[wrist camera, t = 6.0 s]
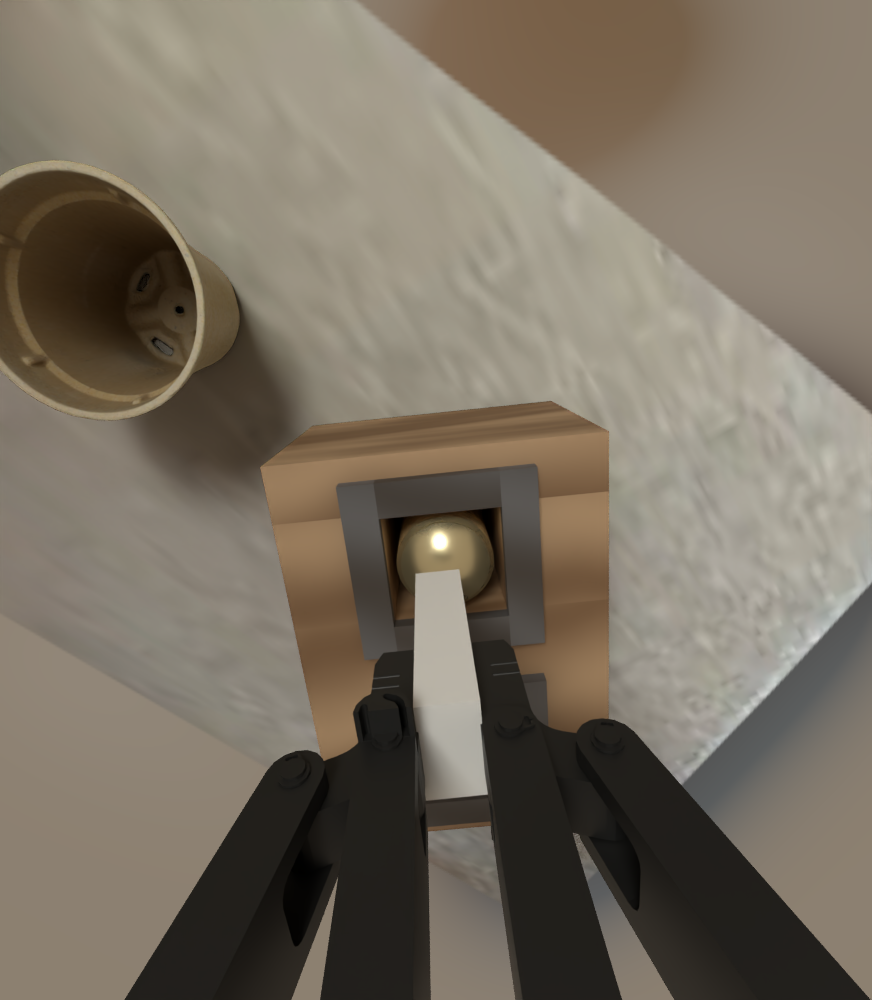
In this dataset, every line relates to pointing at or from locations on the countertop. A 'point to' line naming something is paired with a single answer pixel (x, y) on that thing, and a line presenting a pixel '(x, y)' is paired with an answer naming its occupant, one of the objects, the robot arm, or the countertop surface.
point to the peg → (446, 549)
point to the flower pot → (102, 294)
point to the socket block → (439, 489)
